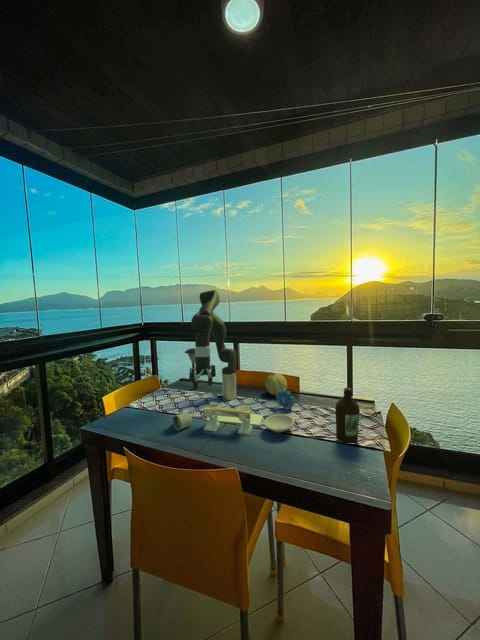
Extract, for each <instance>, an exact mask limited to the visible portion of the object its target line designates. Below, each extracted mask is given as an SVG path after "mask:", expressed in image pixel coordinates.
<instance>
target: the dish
mask: <svg viewBox="0 0 480 640" xmlns="http://www.w3.org/2000/svg"><path fill="white" fill-rule="evenodd" d="M263 423H264V425H265V427H266V428H268V429H269V430H270V432H274V433H284V432H286V431H288V430H289V429H290V428H292V427H293V426H294V424H295V419H294V418H293V417H292V416H290V415H287V414H282V413H278V414H272V415H270V416H268V417H267V418H266V419H264V422H263Z"/></svg>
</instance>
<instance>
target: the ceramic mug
mask: <svg viewBox="0 0 480 640" xmlns="http://www.w3.org/2000/svg"><path fill="white" fill-rule="evenodd" d="M192 423H193V417H192V414H190V412H187V411H186V412H182V413H179V414H176V415H174V416H173V417H172V426H173V428H174V429H175V430H177V431H181V430H183V429H185V428H187V427H190V426H191V425H192Z"/></svg>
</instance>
